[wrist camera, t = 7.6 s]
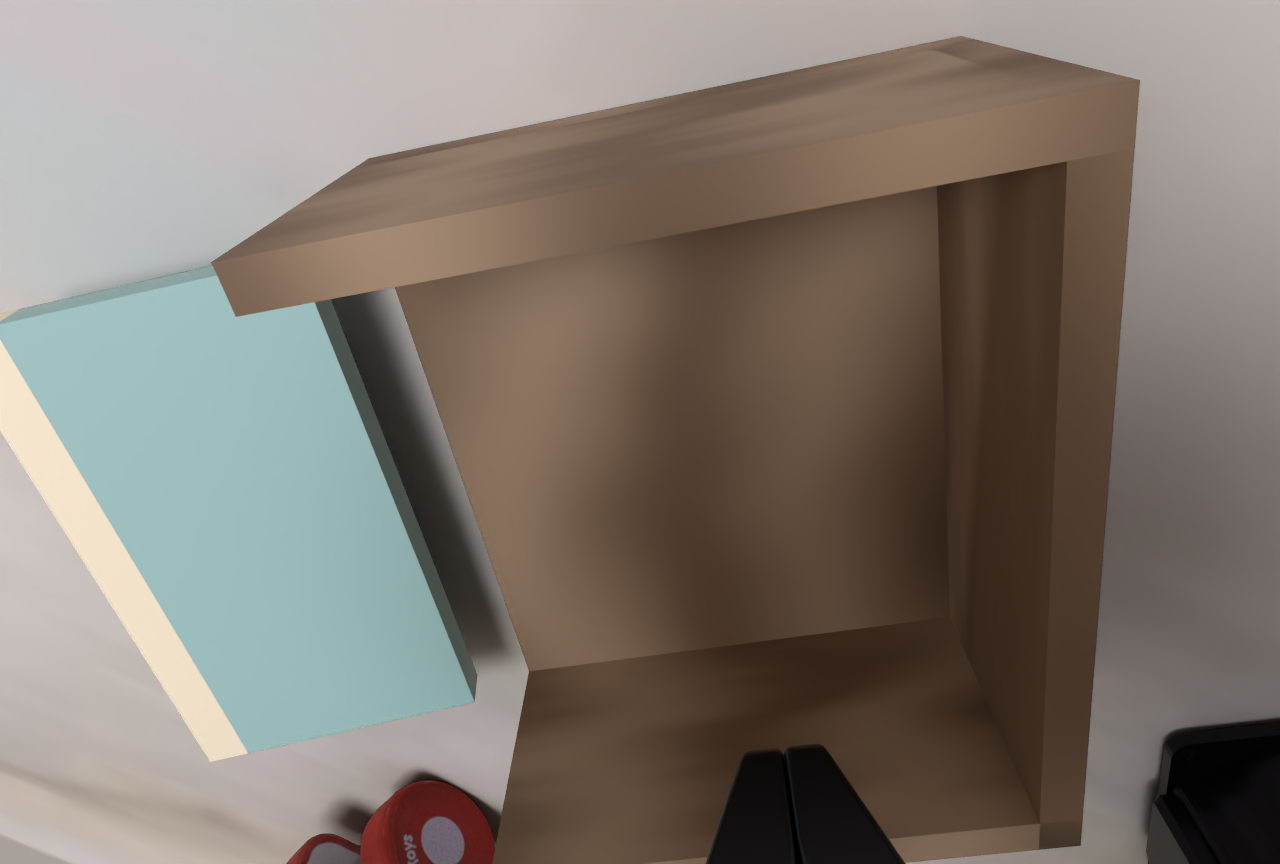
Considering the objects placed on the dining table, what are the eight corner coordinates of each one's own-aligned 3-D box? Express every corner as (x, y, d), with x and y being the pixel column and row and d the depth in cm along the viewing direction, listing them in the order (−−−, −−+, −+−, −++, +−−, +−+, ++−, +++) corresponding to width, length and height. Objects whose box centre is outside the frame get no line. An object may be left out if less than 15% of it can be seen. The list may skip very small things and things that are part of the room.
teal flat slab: (296, 257, 16) (-60, 337, 16) (474, 702, 22) (210, 761, 22) (308, 244, 17) (-29, 319, 17) (477, 674, 23) (223, 732, 23)
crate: (961, 36, 16) (1139, 80, 10) (969, 610, 23) (1079, 845, 17) (368, 158, 18) (211, 262, 12) (541, 666, 24) (499, 902, 18)
